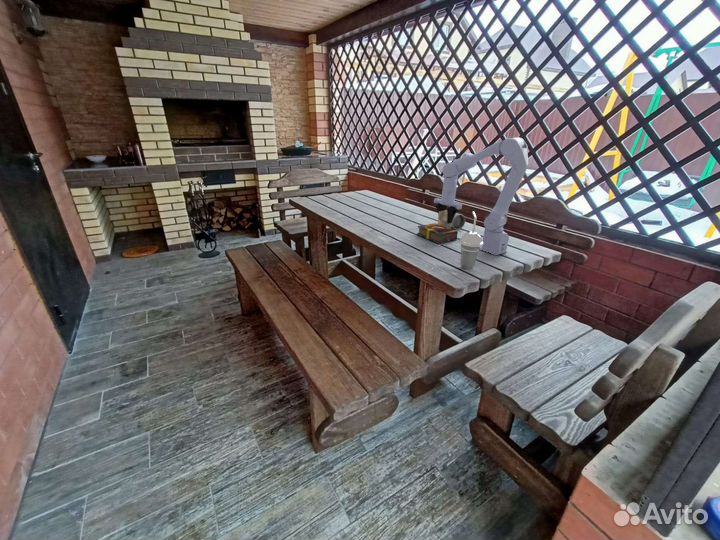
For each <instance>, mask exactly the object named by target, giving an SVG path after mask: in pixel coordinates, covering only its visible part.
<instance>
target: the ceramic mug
mask: <svg viewBox="0 0 720 540" xmlns="http://www.w3.org/2000/svg"><path fill="white" fill-rule="evenodd" d="M465 224H466V217H465V215H464V214H462V213H458V212H457V213H456V214H455V216H454V218H453V221H452V225H451V226H447V228H452V229H453V230H456V231H458V230H461V229H462V228H463V227H465Z"/></svg>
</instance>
